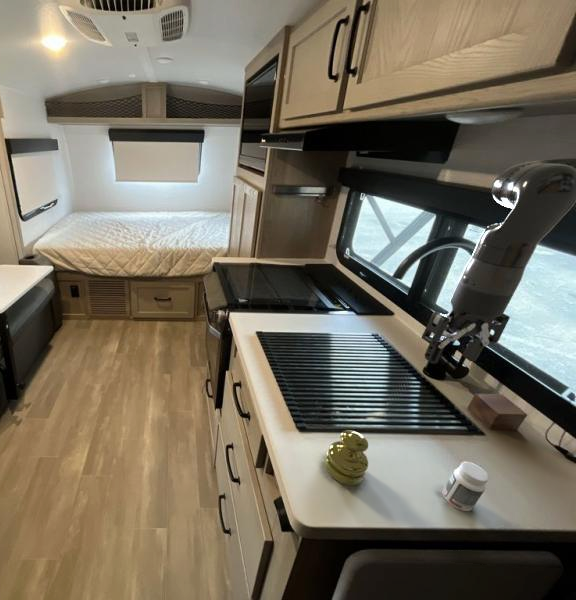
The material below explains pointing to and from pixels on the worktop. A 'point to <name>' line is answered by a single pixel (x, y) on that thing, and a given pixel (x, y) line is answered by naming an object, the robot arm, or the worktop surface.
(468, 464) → the pill bottle
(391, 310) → the worktop surface
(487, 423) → the walnut block
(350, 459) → the gold metal rounded figure
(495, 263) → the robot arm
